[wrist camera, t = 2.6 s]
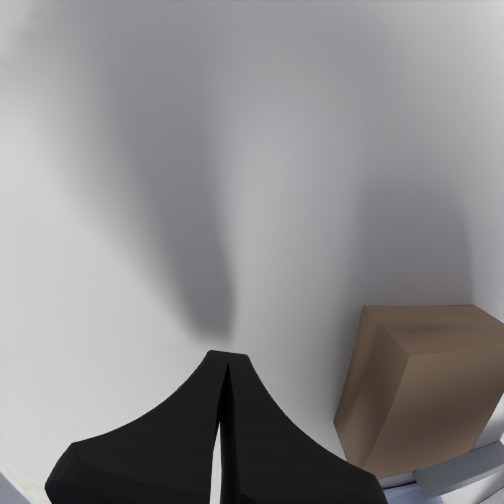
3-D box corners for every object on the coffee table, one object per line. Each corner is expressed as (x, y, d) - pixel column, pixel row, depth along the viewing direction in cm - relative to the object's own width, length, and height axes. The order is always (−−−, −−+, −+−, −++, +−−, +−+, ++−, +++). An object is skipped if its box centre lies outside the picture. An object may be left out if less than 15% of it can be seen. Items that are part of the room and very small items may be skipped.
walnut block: (434, 406, 13) (469, 452, 9) (332, 420, 12) (354, 483, 9) (471, 303, 11) (526, 338, 8) (361, 303, 11) (409, 355, 7)
